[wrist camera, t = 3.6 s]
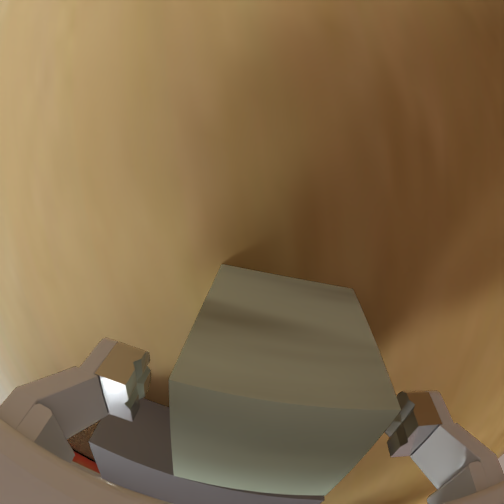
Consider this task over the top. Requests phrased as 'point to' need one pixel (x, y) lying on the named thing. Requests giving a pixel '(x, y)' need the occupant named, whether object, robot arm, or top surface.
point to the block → (277, 386)
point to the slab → (162, 463)
